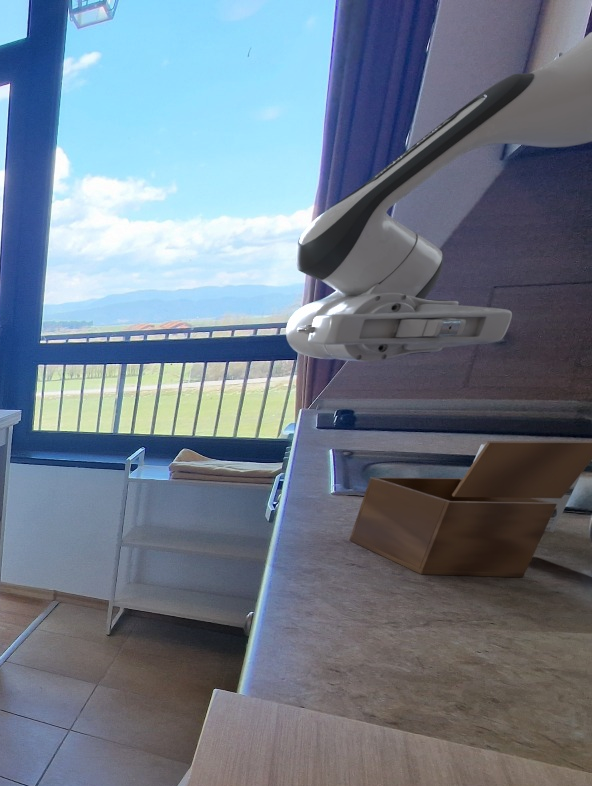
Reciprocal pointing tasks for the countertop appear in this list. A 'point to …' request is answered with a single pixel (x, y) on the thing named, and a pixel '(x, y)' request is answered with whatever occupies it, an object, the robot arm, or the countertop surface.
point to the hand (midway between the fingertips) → (450, 327)
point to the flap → (525, 469)
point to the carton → (449, 527)
